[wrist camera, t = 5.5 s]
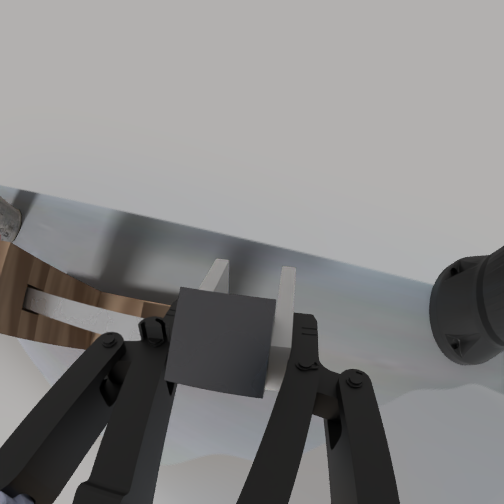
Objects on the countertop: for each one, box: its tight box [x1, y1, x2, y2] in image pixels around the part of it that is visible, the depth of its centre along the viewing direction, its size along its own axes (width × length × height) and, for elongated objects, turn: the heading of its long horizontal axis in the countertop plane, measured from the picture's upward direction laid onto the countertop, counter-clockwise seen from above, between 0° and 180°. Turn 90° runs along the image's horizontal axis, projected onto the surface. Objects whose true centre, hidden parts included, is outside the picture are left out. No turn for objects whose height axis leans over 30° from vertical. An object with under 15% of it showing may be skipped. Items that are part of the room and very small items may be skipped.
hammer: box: [22, 287, 276, 399], centre depth 16 cm, size 28×3×13 cm, turn 82°
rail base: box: [0, 240, 171, 350], centre depth 25 cm, size 30×8×19 cm, turn 82°
